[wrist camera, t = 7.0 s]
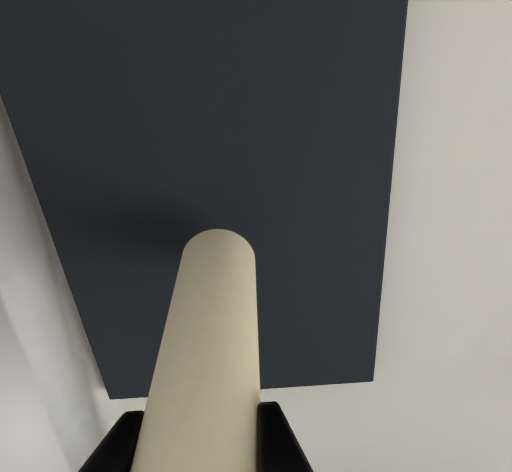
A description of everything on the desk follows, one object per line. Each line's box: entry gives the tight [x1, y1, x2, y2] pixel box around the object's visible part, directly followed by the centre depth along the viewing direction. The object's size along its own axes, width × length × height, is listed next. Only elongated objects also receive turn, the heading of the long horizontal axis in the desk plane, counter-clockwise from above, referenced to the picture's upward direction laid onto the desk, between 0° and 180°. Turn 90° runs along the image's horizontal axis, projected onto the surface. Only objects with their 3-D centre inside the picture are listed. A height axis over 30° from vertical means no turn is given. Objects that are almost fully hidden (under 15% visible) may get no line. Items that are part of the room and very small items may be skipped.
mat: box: [0, 0, 408, 399], centre depth 16 cm, size 16×12×1 cm
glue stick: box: [130, 229, 261, 472], centre depth 10 cm, size 2×2×10 cm
